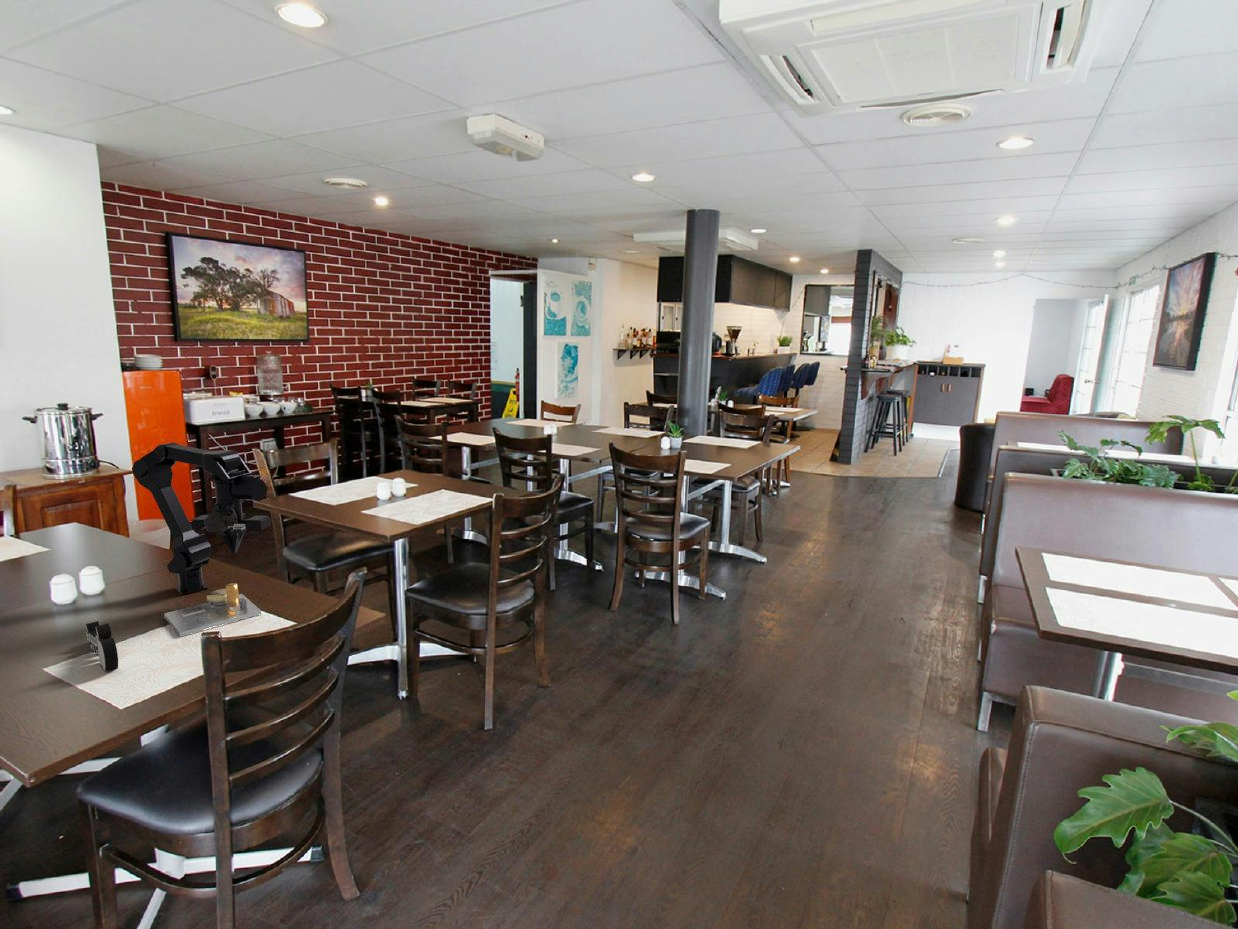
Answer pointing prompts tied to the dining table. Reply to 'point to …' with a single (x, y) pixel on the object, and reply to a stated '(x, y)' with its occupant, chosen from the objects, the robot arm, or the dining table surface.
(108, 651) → the logo
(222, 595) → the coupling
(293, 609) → the dining table surface
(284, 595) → the dining table surface
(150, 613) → the dining table surface
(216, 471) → the robot arm
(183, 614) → the base
